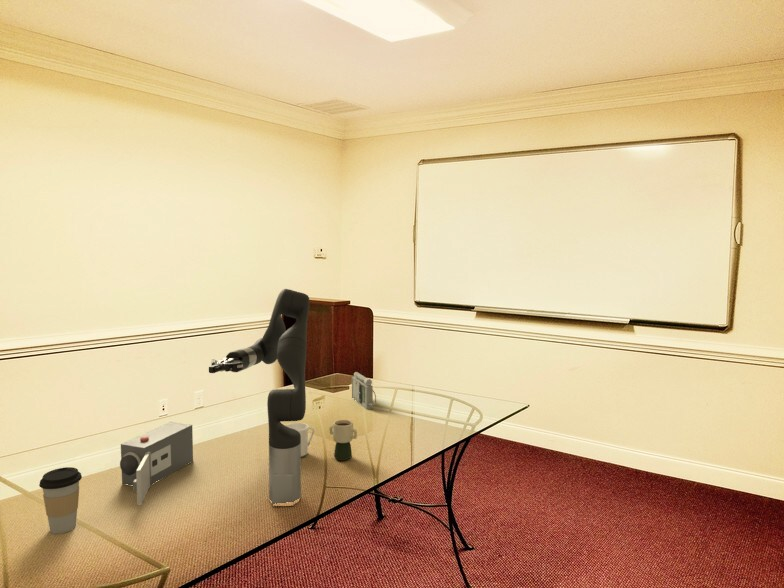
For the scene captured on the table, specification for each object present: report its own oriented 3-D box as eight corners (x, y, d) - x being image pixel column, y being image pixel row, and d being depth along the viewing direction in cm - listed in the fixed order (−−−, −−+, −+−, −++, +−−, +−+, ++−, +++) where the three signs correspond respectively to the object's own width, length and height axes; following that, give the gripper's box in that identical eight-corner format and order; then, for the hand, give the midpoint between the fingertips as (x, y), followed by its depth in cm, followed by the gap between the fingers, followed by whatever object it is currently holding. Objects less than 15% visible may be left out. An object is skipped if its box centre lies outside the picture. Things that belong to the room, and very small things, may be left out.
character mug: (361, 457, 187) (361, 421, 185) (351, 464, 180) (351, 428, 179) (334, 452, 191) (335, 417, 190) (324, 459, 185) (324, 423, 184)
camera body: (171, 457, 184) (170, 419, 183) (194, 461, 181) (193, 422, 180) (116, 487, 161) (115, 443, 160) (141, 492, 158) (140, 447, 157)
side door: (142, 505, 148) (141, 469, 147) (133, 505, 147) (132, 470, 147) (152, 484, 161) (151, 451, 160) (143, 484, 160) (142, 452, 159)
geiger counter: (349, 370, 257) (368, 383, 235) (361, 369, 260) (381, 381, 238) (349, 398, 259) (368, 413, 236) (361, 396, 261) (381, 411, 239)
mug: (284, 460, 183) (284, 432, 182) (282, 450, 192) (282, 423, 191) (315, 457, 186) (315, 429, 185) (312, 448, 194) (312, 421, 194)
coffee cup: (75, 515, 144) (73, 462, 143) (89, 527, 138) (87, 472, 137) (36, 529, 137) (33, 474, 136) (49, 542, 131) (46, 485, 130)
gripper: (225, 347, 189) (193, 357, 173) (257, 350, 185) (227, 360, 169) (225, 368, 190) (194, 379, 174) (257, 371, 186) (228, 383, 170)
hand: (210, 370), depth 171 cm, fingers closed
